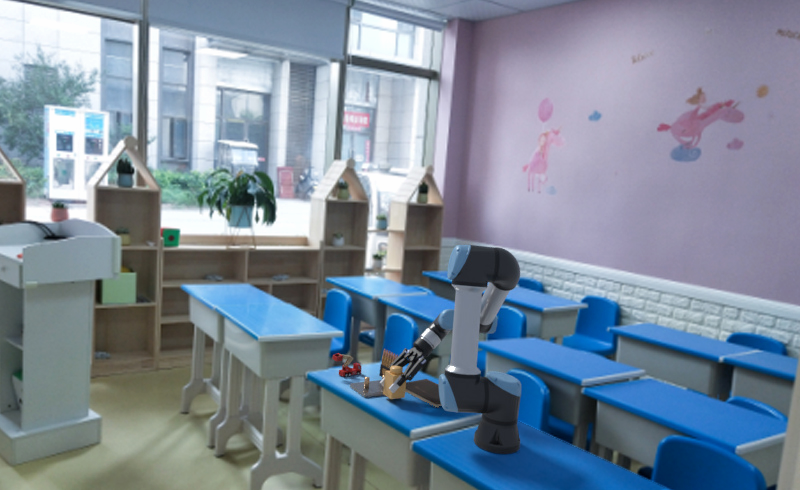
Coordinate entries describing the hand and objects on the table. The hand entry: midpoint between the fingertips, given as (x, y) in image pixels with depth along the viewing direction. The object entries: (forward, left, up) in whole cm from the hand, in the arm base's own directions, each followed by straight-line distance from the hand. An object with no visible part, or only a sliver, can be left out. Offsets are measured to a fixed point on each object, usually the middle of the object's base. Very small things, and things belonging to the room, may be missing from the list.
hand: (386, 387), depth 230 cm
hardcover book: (0, -21, -6) cm, 22 cm away
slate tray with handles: (+11, -2, -5) cm, 12 cm away
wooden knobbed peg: (0, -4, -3) cm, 5 cm away
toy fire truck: (+30, +1, -5) cm, 31 cm away
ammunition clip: (+21, -14, -5) cm, 26 cm away
